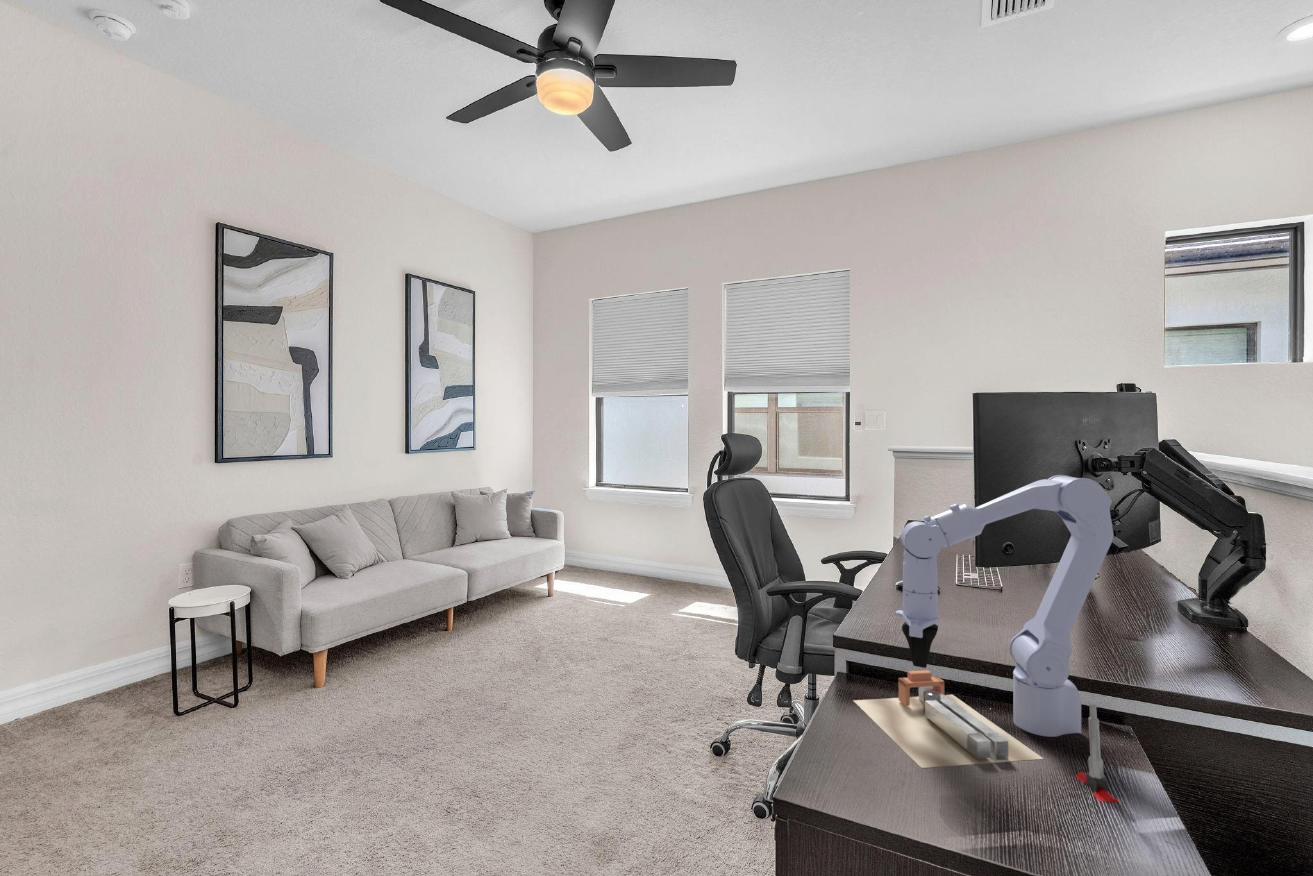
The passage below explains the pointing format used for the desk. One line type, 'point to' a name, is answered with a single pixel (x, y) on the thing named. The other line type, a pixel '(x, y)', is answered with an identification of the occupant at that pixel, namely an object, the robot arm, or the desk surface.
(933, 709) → the bar
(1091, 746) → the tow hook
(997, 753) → the tong base
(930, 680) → the collar
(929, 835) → the desk surface
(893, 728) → the board
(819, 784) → the desk surface
